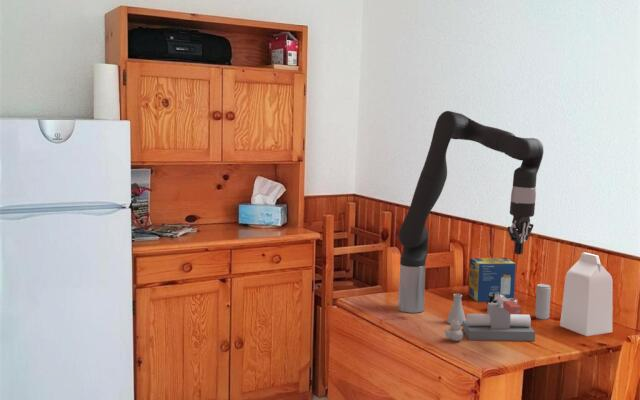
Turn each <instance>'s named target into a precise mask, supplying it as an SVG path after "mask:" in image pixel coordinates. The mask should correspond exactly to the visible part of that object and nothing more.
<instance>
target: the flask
mask: <svg viewBox="0 0 640 400" xmlns="http://www.w3.org/2000/svg"><path fill="white" fill-rule="evenodd" d="M452 296H453V301H452V306H451V309H450V311H449V314H448V316H447V318H446V323H447V324H449V325H450V323H451V321H452V320H453V319H456V317H457V320H458V321H459V323H460V324H461V326H463V321H467V316H466V315H465V311H464V308H463V303H462V298H463V295H462V293H453V294H452Z"/></svg>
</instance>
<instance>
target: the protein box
mask: <svg viewBox="0 0 640 400" xmlns="http://www.w3.org/2000/svg"><path fill="white" fill-rule="evenodd" d="M516 268H517V264H516V262H514V261H512V260H510V259H508V258H507V257H469V279H468V281H469V282H468V296H469V297H471V298H472V299H473V300H474V301H475V302H477V303H486V302H487V301H489V300H490V299H489V298H488V297H489V296H493V293H495V294H502V295H504V297H506V298H507V299H509V298H513V299H515V287H516V286H515V285H516ZM492 300H495V298H493V299H492ZM491 303H492V301H491Z"/></svg>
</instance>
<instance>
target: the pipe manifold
mask: <svg viewBox="0 0 640 400" xmlns="http://www.w3.org/2000/svg"><path fill="white" fill-rule="evenodd" d="M486 311H487V312H486V313H467V314H466V320H467V321H463V325H462V331H463V333H464V334H465V335H466V337H467V339H468V340H469V341H509V342H510V341H511V342H513V341H514V342H515V341H516V342H518V341H521V342H524V341H525V342H535V341H536V331H535V330H534V329H533V328H532V326H531V325H532V323H531V322H532V319H531V315H530V314H522V313H521V314H510V313H509V312H508V311H507V310H505V309H504V308H503V305H502V304H501V303H500V302H499V301H497V303H492V302H491V303H488V304H487V310H486Z"/></svg>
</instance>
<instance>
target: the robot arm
mask: <svg viewBox="0 0 640 400" xmlns="http://www.w3.org/2000/svg"><path fill="white" fill-rule="evenodd" d="M451 140H463V141H471V142H474V143H478V144H480V145H482V146H484V147H486V148H488V149H491V150H493V151H496V152H499V153H503V154H505V155H506V156H508V157H510V158H512V159H515V160H517V161H521V164H520V166H519V167H517V168H516V169H514V171H513V179H512V186H511V187H512V188H511V193H510V205H509V215H511V216H512V221H511V226H507V231H508V232H507V233H508V234H509V237H510V240H511V241H512V242H514V250H513V251H514V254H515V255H518V256H519V255H523V254H524V244H525V243H526V241H528V239H529V238H530V235H531V234H532V231H533V228H534V224H533V223H531V217H534V216H535V210H536V209H535V208H536V207H535V206H536V198H537V196H536V195H537V194H536V193H537V190H536V189H537V188H536V186H537V174H538V172H539V170H540V166H541V163H542V161H543V157H544V145H543V143H542V142H541V140H539V139H538V138H534V137H529V138H528V137H519V136H517V135H516V134H514V133H513V132H510V131H508V130H507V131H506V130H504V129H501V128H497V127H493V126H487V125H485V124H482V123H479V122H477V121H475V120H473V119H471V118H470V117H468V116H466V115H465V114H463V113H458V112H456V111H452V110H445V111H443V112H441V114H440V115H439V116H438V118H437V120H436V122H435V126H434V129H433V133H432V137H431V142H430V145H429V149H428V152H427V154H426V155H427V156H426V158H425V161H424V164H423V168H422V170H421V172H420V175H419V177H418V180H417V183H416V187H415V189H414V193H413V195H412V198H411V203H410V205H409V209H408V211H407V213H406V216H405V217H404V220H403V222H402V224H401V226H400V228H399V231H398V240H399V242H400V244H401V245H402V246H403V249H402V253H401V256H400V260H399V262H400V263H399V282H398V306H397V307H398V309H399V312H404V313H409V314H412V313H414V314H417V313H422V312H424V311H425V287H426V261H427V260H426V259H427V256H428V246H429V231H428V228H427V226H426V223H427V220H428V217H429V216H430V215H429V214H430V213H431V211H432V209H433V208H434V207H435V205H436V203H437V201H438V200H439V198H440V196H441V194H442V192H443V190H444V187H445V184H446V181H447V177H448V166H447V165H448V164H447V151H448V148H449V144H450V142H451Z"/></svg>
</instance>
